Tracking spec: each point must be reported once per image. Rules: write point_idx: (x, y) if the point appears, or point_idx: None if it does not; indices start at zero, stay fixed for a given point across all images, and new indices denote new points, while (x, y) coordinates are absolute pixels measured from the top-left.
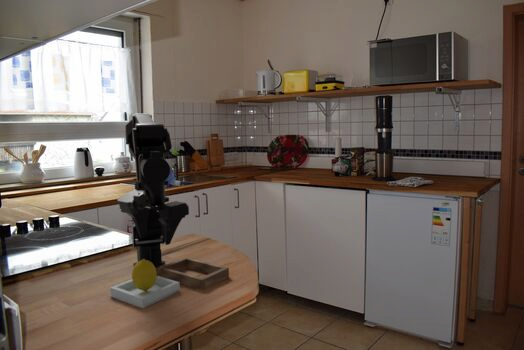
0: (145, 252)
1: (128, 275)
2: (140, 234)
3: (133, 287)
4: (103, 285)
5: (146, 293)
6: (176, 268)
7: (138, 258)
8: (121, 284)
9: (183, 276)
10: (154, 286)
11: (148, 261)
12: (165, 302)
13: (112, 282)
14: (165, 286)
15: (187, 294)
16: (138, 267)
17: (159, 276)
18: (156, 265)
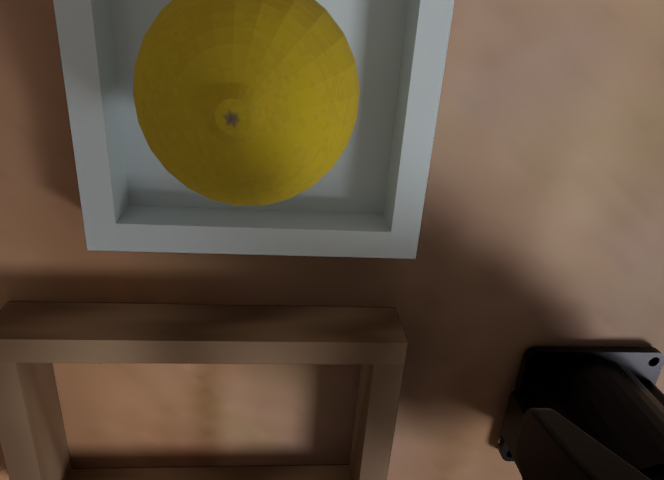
0: (612, 433)
1: (587, 236)
2: (557, 441)
3: (395, 90)
4: (639, 29)
5: None
6: (358, 420)
7: (659, 399)
8: None
9: (159, 333)
10: None
11: (198, 152)
12: (28, 42)
13: (612, 101)
14: (102, 143)
15: (26, 212)
16: (220, 12)
17: (294, 253)
18: (509, 400)
